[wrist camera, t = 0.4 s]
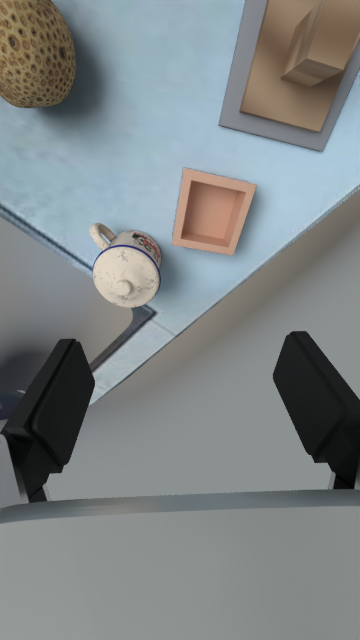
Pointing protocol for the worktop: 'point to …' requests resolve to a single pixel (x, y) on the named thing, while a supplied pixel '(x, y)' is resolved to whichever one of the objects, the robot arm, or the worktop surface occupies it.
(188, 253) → the worktop surface
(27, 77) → the natural sponge
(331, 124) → the mat
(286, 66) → the lid
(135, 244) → the teacup with lid
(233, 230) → the dish
